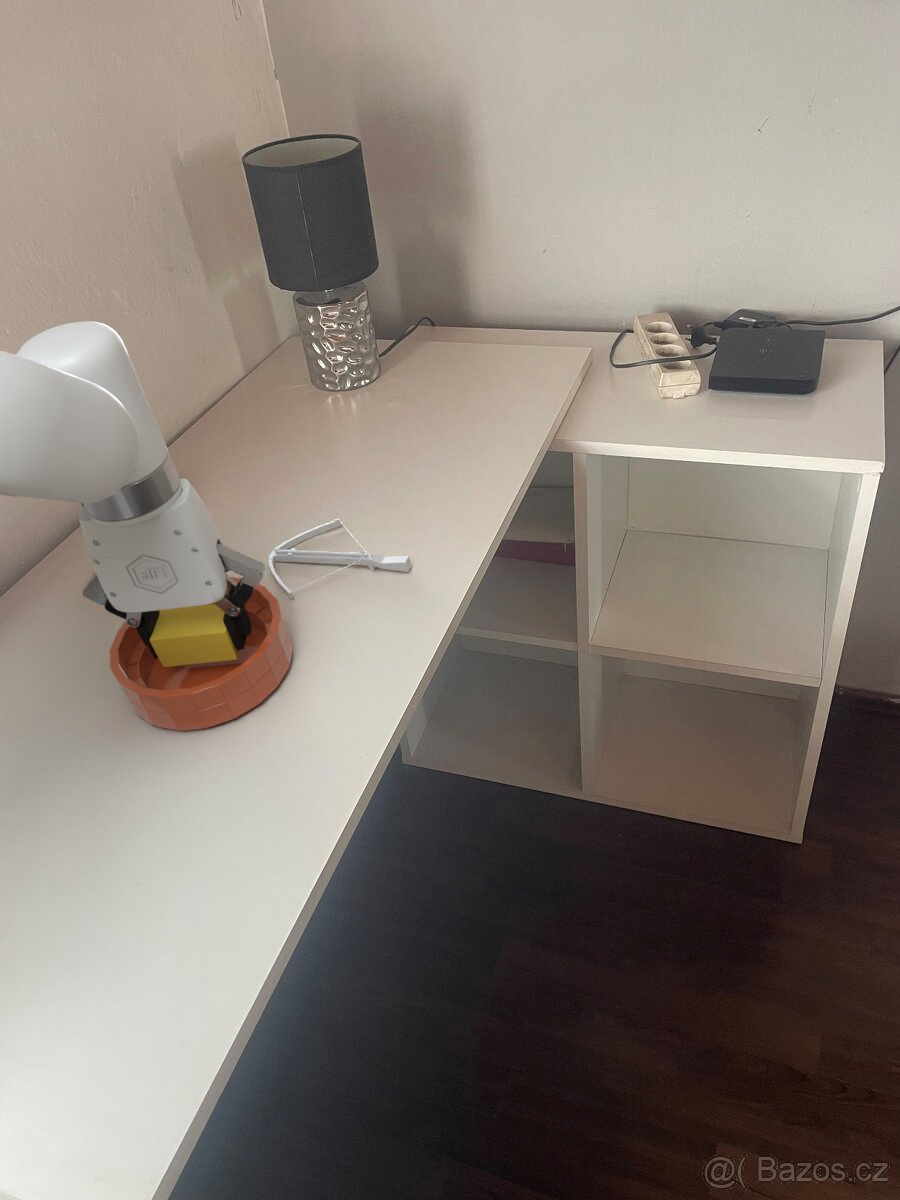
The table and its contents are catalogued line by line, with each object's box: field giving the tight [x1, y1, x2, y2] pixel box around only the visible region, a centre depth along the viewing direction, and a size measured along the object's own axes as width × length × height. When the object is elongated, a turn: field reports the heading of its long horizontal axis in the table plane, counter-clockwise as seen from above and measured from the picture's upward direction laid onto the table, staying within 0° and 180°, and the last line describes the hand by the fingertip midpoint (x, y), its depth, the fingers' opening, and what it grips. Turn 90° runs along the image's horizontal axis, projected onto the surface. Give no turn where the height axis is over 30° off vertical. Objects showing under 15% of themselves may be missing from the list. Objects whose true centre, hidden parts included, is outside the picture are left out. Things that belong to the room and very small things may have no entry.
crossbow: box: [268, 518, 412, 600], centre depth 91 cm, size 16×13×2 cm
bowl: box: [109, 576, 294, 731], centre depth 80 cm, size 16×16×5 cm
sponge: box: [150, 604, 240, 667], centre depth 79 cm, size 4×7×4 cm, turn 90°
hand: (202, 642), depth 80 cm, fingers closed on sponge, 7 cm apart
